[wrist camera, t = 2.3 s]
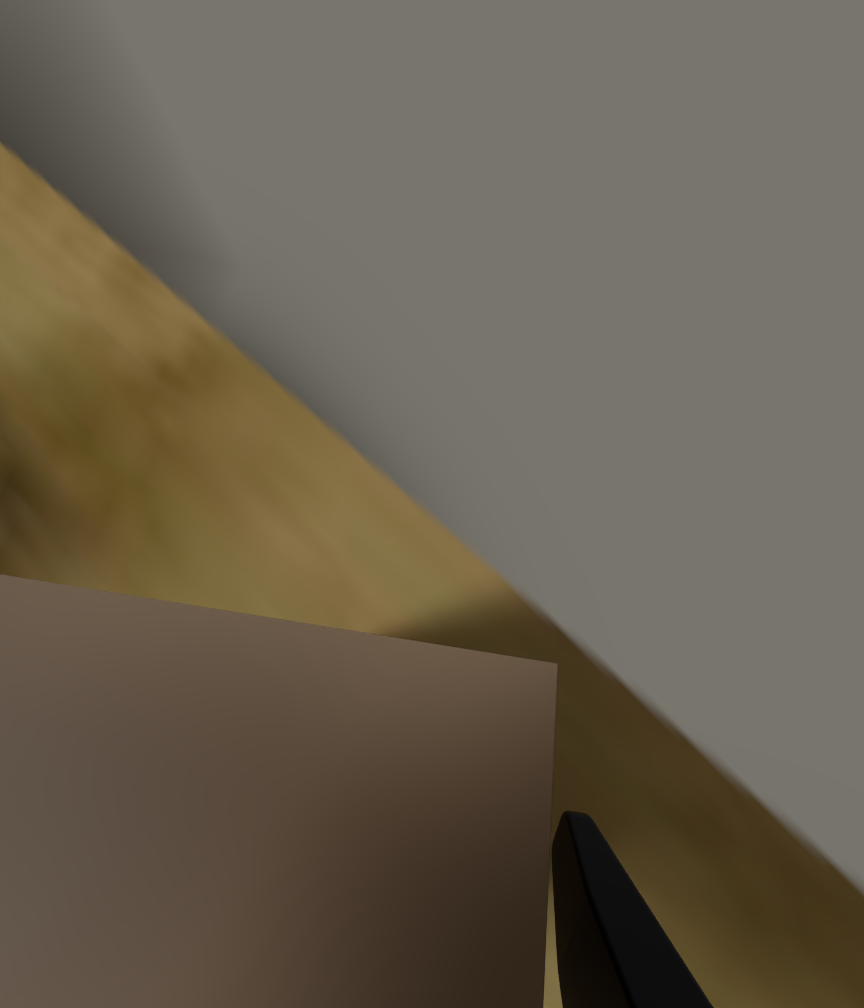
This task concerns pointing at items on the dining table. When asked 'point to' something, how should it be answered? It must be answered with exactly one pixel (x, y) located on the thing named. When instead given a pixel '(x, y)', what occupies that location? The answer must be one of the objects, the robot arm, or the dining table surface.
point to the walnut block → (264, 811)
